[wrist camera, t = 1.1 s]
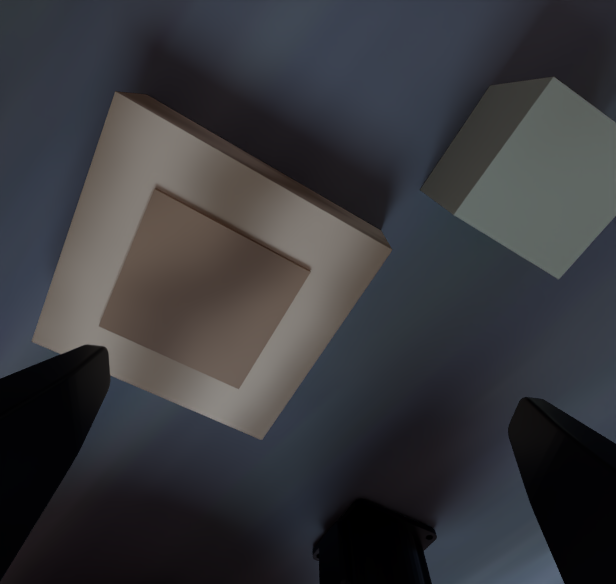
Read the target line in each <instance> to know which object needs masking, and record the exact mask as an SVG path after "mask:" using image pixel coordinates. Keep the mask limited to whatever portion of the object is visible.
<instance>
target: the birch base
mask: <svg viewBox="0 0 616 584" xmlns="http://www.w3.org/2000/svg"><path fill="white" fill-rule="evenodd" d="M391 251H392V248H391V247H390V245H389V243H388V242H387V240H386V238H385V236H384V235H383V233H382V231H381V230H379V229H378V228H376V227H374V226H372V225H371V224H369V223H367V222H366V221H364V220H362V219H360V218H359V217H357V216H355V215H353V214H352V213H350V212H348V211H347V210H345V209H343V208H341V207H340V206H338V205H336V204H334V203H333V202H331V201H329V200H328V199H326V198H324V197H322V196H321V195H319V194H317V193H316V192H314V191H312V190H310V189H309V188H307V187H305V186H303V185H302V184H300V183H298V182H297V181H295V180H293V179H291V178H290V177H288V176H286V175H284V174H283V173H281V172H279V171H278V170H276V169H274V168H272V167H271V166H269V165H267V164H266V163H264V162H262V161H260V160H259V159H257V158H255V157H253V156H252V155H250V154H248V153H247V152H245V151H243V150H241V149H240V148H238V147H236V146H234V145H233V144H231V143H229V142H228V141H226V140H224V139H222V138H221V137H219V136H217V135H216V134H214V133H212V132H210V131H209V130H207V129H205V128H203V127H202V126H200V125H198V124H197V123H195V122H193V121H191V120H190V119H188V118H186V117H184V116H183V115H181V114H179V113H178V112H176V111H174V110H172V109H171V108H169V107H167V106H165V105H164V104H162V103H160V102H159V101H157V100H155V99H153V98H152V97H150V96H148V95H147V94H137V93H127V92H117V91H115V94H114V97H113V100H112V103H111V106H110V109H109V112H108V115H107V118H106V121H105V124H104V127H103V130H102V133H101V136H100V139H99V142H98V145H97V148H96V151H95V154H94V157H93V160H92V163H91V166H90V169H89V172H88V175H87V178H86V181H85V184H84V187H83V190H82V193H81V196H80V199H79V202H78V205H77V208H76V211H75V214H74V217H73V220H72V223H71V226H70V229H69V232H68V235H67V237H66V240H65V243H64V246H63V249H62V252H61V255H60V258H59V261H58V264H57V267H56V270H55V273H54V276H53V279H52V282H51V285H50V288H49V291H48V294H47V297H46V300H45V303H44V306H43V309H42V312H41V315H40V318H39V321H38V324H37V327H36V330H35V333H34V336H33V339H32V342H34V343H36V344H38V345H41V346H43V347H45V348H48V349H50V350H52V351H55V352H57V353H59V354H63V353H65V352H68V351H70V350H73V349H75V348H78V347H80V346H83V345H86V344H90V345H98V346H104V347H106V348H107V350H108V353H109V365H110V375H111V376H113V377H115V378H118V379H120V380H122V381H125V382H127V383H129V384H132V385H134V386H136V387H139V388H141V389H143V390H146V391H148V392H150V393H153V394H155V395H157V396H160V397H162V398H164V399H167V400H169V401H171V402H174V403H176V404H178V405H181V406H183V407H185V408H188V409H190V410H192V411H195V412H197V413H199V414H202V415H204V416H206V417H209V418H211V419H213V420H216V421H218V422H220V423H223V424H225V425H227V426H230V427H232V428H234V429H237V430H239V431H241V432H244V433H246V434H248V435H251V436H253V437H255V438H258V439H260V440H262V439H263V438H264V436H265V435H266V433H267V432H268V430H269V429H270V428H271V426H272V425H273V423H274V422H275V420H276V419H277V417H278V416H279V414H280V413H281V412H282V410H283V409H284V407H285V406H286V404H287V403H288V401H289V400H290V398H291V397H292V396H293V394H294V393H295V391H296V390H297V388H298V387H299V385H300V384H301V382H302V381H303V379H304V378H305V377H306V375H307V374H308V372H309V371H310V369H311V368H312V366H313V365H314V363H315V362H316V361H317V359H318V358H319V356H320V355H321V353H322V352H323V350H324V349H325V347H326V346H327V344H328V343H329V342H330V340H331V339H332V337H333V336H334V334H335V333H336V331H337V330H338V328H339V327H340V326H341V324H342V323H343V321H344V320H345V318H346V317H347V315H348V314H349V312H350V311H351V309H352V308H353V307H354V305H355V304H356V302H357V301H358V299H359V298H360V296H361V295H362V293H363V292H364V291H365V289H366V288H367V286H368V285H369V283H370V282H371V280H372V279H373V277H374V276H375V275H376V273H377V272H378V270H379V269H380V267H381V266H382V264H383V263H384V261H385V260H386V258H387V257H388V256H389V254H390V253H391Z"/></svg>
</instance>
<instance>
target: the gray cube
mask: <svg viewBox="0 0 616 584" xmlns="http://www.w3.org/2000/svg"><path fill="white" fill-rule="evenodd" d="M420 190H421V191H422V192H423V193H425V194H426V195H427V196H429V197H430V198H431V199H433V200H434V201H435V202H437V203H438V204H440V205H441V206H442V207H444V208H445V209H446V210H448V211H449V212H450V213H452V214H453V215H455V216H456V217H458V218H460V219H461V220H463V221H464V222H466V223H468V224H469V225H471V226H473V227H474V228H476V229H477V230H479V231H481V232H482V233H484V234H486V235H487V236H489V237H490V238H492V239H494V240H495V241H497V242H499V243H500V244H502V245H503V246H505V247H507V248H508V249H510V250H512V251H513V252H515V253H517V254H518V255H520V256H521V257H523V258H525V259H526V260H528V261H530V262H531V263H533V264H534V265H536V266H538V267H539V268H541V269H543V270H544V271H546V272H547V273H549V274H551V275H552V276H554V277H556V278H557V279H560V278H561V276H562V275H563V274H564V273H565V272H566V271H567V270H568V269H569V268H570V266H571V265H572V264H573V263H574V262H575V261H576V260H577V259H578V257H579V256H580V255H581V254H582V253H583V252H584V251H585V250H586V248H587V247H588V246H589V245H590V244H591V243H592V242H593V241H594V240H595V238H596V237H597V236H598V235H599V234H600V233H601V232H602V231H603V229H604V228H605V227H606V226H607V225H608V224H609V223H610V222H611V220H612V219H613V218H614V217H615V216H616V123H615V122H614V121H613V120H611V119H610V118H609V117H607V116H606V115H605V114H603V113H602V112H601V111H599V110H598V109H597V108H595V107H594V106H593V105H591V104H590V103H588V102H587V101H586V100H584V99H583V98H582V97H580V96H579V95H578V94H576V93H575V92H574V91H572V90H571V89H570V88H568V87H567V86H566V85H564V84H563V83H562V82H560V81H559V80H558V79H556V78H555V77H548V78H540V79H533V80H526V81H519V82H511V83H504V84H497V85H490V86H489V88H488V89H487V91H486V92H485V94H484V95H483V97H482V98H481V100H480V101H479V103H478V104H477V106H476V107H475V109H474V110H473V112H472V113H471V115H470V116H469V118H468V119H467V121H466V122H465V124H464V125H463V126H462V128H461V129H460V131H459V132H458V134H457V135H456V137H455V138H454V140H453V141H452V143H451V144H450V146H449V147H448V149H447V150H446V152H445V153H444V155H443V156H442V158H441V159H440V161H439V162H438V164H437V165H436V167H435V168H434V170H433V171H432V173H431V174H430V176H429V177H428V179H427V180H426V182H425V183H424V185H423V186H422V187H421V189H420Z"/></svg>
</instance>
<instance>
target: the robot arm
mask: <svg viewBox="0 0 616 584" xmlns="http://www.w3.org/2000/svg"><path fill="white" fill-rule="evenodd" d="M109 386H110V365H109V353H108V350H107V348H106V347H104V346H98V345H90V344H86V345H83V346H80V347H78V348H75V349H73V350H70V351H68V352H65V353H63V354H60V355H58V356H55V357H53V358H50V359H48V360H45V361H43V362H40V363H38V364H36V365H33V366H31V367H28V368H26V369H23V370H21V371H18V372H16V373H13V374H11V375H8V376H6V377H3V378H1V379H0V581H1V579H2V578H3V576H4V574H5V573H6V571H7V569H8V568H9V566H10V565H11V563H12V561H13V560H14V558H15V556H16V555H17V553H18V551H19V550H20V548H21V547H22V545H23V543H24V542H25V540H26V538H27V537H28V535H29V534H30V532H31V530H32V529H33V527H34V525H35V524H36V522H37V520H38V519H39V517H40V516H41V514H42V512H43V511H44V509H45V507H46V506H47V504H48V502H49V501H50V499H51V498H52V496H53V494H54V493H55V491H56V489H57V488H58V486H59V485H60V483H61V481H62V480H63V478H64V476H65V475H66V473H67V471H68V470H69V468H70V467H71V465H72V463H73V461H74V460H75V458H76V456H77V455H78V453H79V451H80V449H81V447H82V445H83V443H84V440H85V438H86V436H87V434H88V432H89V430H90V428H91V426H92V423H93V421H94V419H95V417H96V415H97V413H98V411H99V409H100V406H101V404H102V402H103V400H104V398H105V396H106V394H107V392H108V389H109ZM508 435H509V439H510V442H511V445H512V449H513V452H514V455H515V458H516V461H517V464H518V467H519V471H520V474H521V477H522V480H523V483H524V486H525V489H526V492H527V495H528V498H529V501H530V504H531V506H532V509H533V511H534V514H535V516H536V518H537V521H538V523H539V525H540V528H541V530H542V532H543V535H544V537H545V539H546V542H547V544H548V546H549V549H550V551H551V553H552V556H553V558H554V560H555V563H556V565H557V567H558V570H559V572H560V574H561V577H562V579H563V581H564V584H616V444H615V443H614V442H612V441H610V440H609V439H607V438H606V437H604V436H602V435H601V434H599V433H597V432H596V431H594V430H593V429H591V428H589V427H588V426H586V425H584V424H583V423H581V422H579V421H578V420H576V419H575V418H573V417H571V416H570V415H568V414H566V413H565V412H563V411H562V410H560V409H558V408H557V407H555V406H553V405H552V404H550V403H548V402H547V401H545V400H543V399H539V398H530V397H524V398H522V399H521V400H520V401H519V403H518V405H517V408H516V410H515V412H514V415H513V417H512V419H511V421H510V424H509V427H508ZM436 538H437V536H436V532H435V530H434V529H433V528H432V527H429V526H427V525H424V524H422V523H420V522H417V521H415V520H413V519H410V518H408V517H405V516H403V515H401V514H398V513H396V512H394V511H391V510H389V509H386V508H384V507H382V506H379V505H377V504H374V503H372V502H370V501H367V500H365V499H358V500H356V501H355V502H354V503H353V504H352V505H351V506H350V507H349V509H348V510H347V511H346V512H345V513H344V514H343V515H342V516H341V518H340V519H339V520H338V521H337V522H336V523H335V524H334V525H333V526H332V527H331V529H330V530H329V531H328V532H327V533H326V534H325V535H324V537H323V538H322V539H321V540H320V541H319V543H318V544H317V545H316V546H315V547H314V548H313V558H314V559H315V560H317V561H319V578H320V584H432V583H431V579H430V575H429V571H428V567H427V563H426V559H425V555H424V550H425V549H426V548H427V547H428V546H429V545H430V544H431V543H433V542H434V541H435V540H436Z"/></svg>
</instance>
